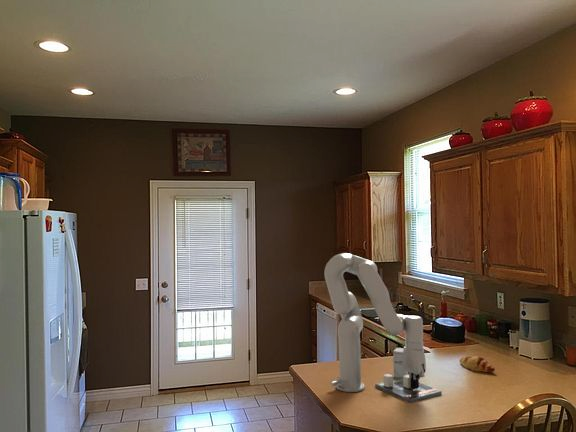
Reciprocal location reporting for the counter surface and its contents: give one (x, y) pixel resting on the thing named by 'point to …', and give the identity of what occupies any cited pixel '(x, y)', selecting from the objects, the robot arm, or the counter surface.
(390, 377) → the block
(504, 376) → the counter surface
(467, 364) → the croissant
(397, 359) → the supplement box
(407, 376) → the block
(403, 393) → the panel
